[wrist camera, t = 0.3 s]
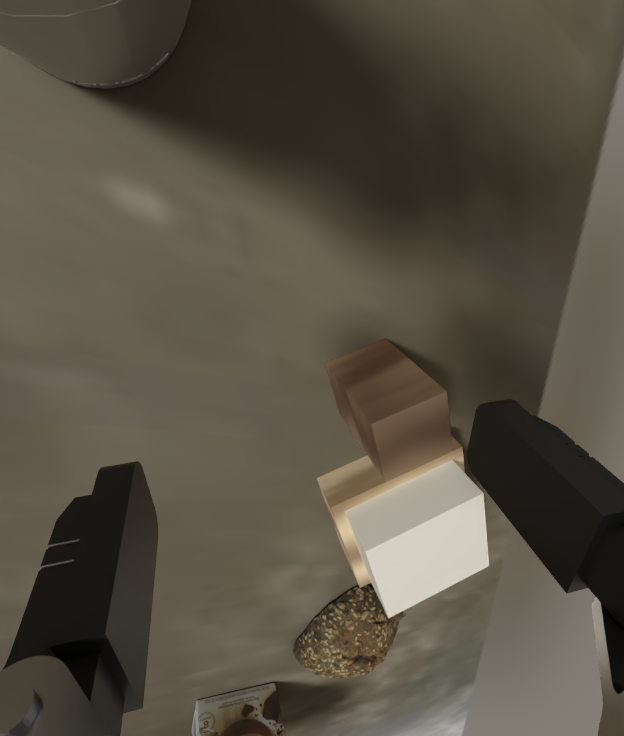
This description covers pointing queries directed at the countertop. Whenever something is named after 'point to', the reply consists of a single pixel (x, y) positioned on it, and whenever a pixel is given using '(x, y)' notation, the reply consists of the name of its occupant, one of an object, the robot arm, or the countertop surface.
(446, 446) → the walnut block
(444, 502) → the tower top
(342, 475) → the tower base
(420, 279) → the countertop surface
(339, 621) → the bread roll
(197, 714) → the coffee box
